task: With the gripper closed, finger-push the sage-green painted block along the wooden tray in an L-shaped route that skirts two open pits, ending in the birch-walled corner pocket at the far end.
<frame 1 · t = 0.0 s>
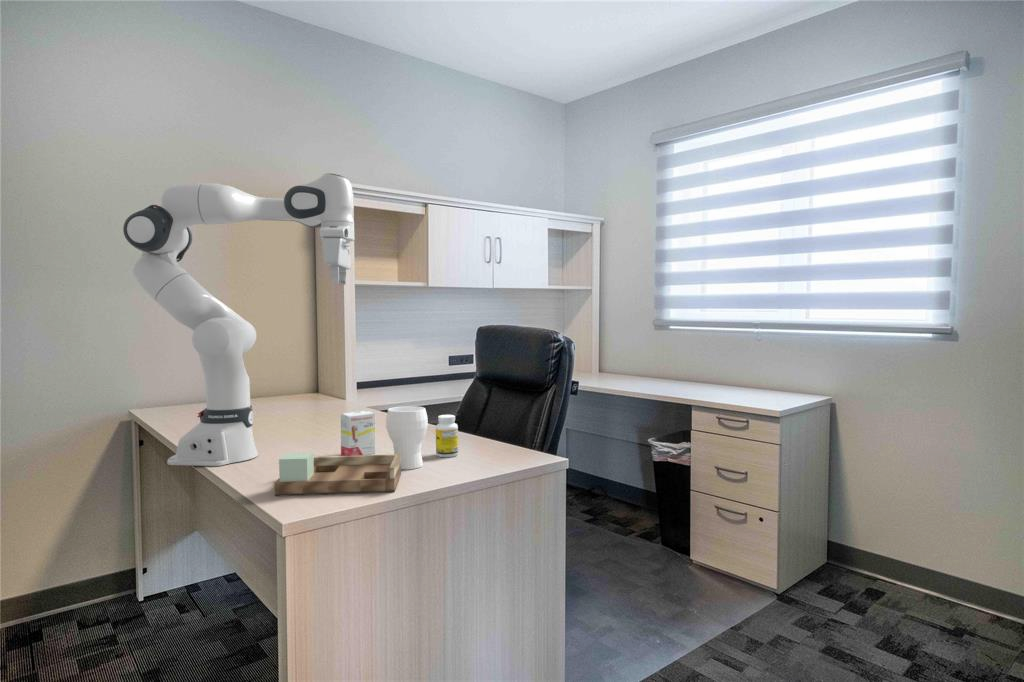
hand: (339, 284, 171), 48 cm above the table, fingers open, 8 cm apart
pill bottle: (447, 455, 172), on the table
cup: (407, 466, 160), on the table
block: (297, 477, 139), point 3 cm above the table, touching wooden tray
ink box: (358, 455, 174), on the table
wooden tray: (341, 484, 144), on the table
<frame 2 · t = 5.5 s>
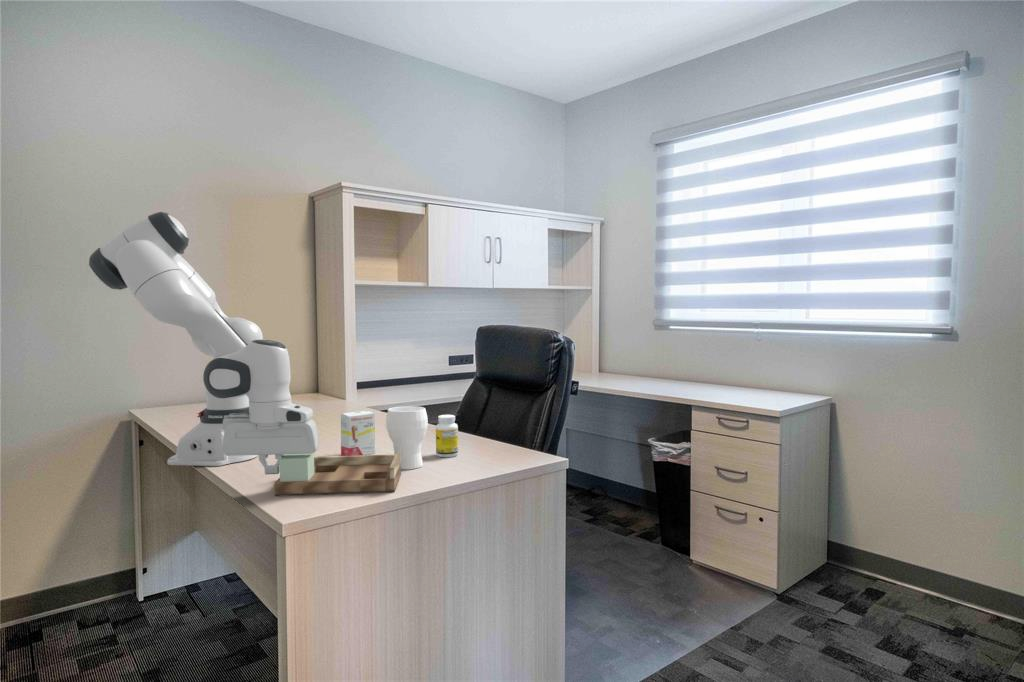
hand: (272, 473, 138), 4 cm above the table, fingers closed
block: (297, 477, 139), point 3 cm above the table, touching gripper
everything else where it was.
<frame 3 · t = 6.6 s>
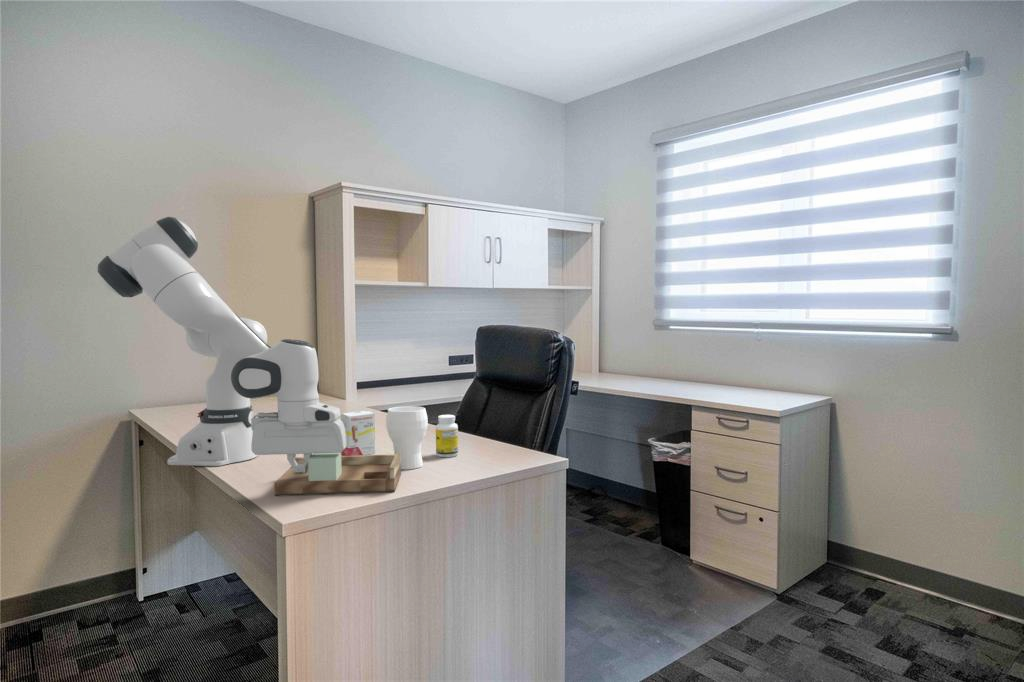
hand: (300, 473, 138), 4 cm above the table, fingers closed
block: (325, 477, 139), point 3 cm above the table, touching gripper
everything else where it was.
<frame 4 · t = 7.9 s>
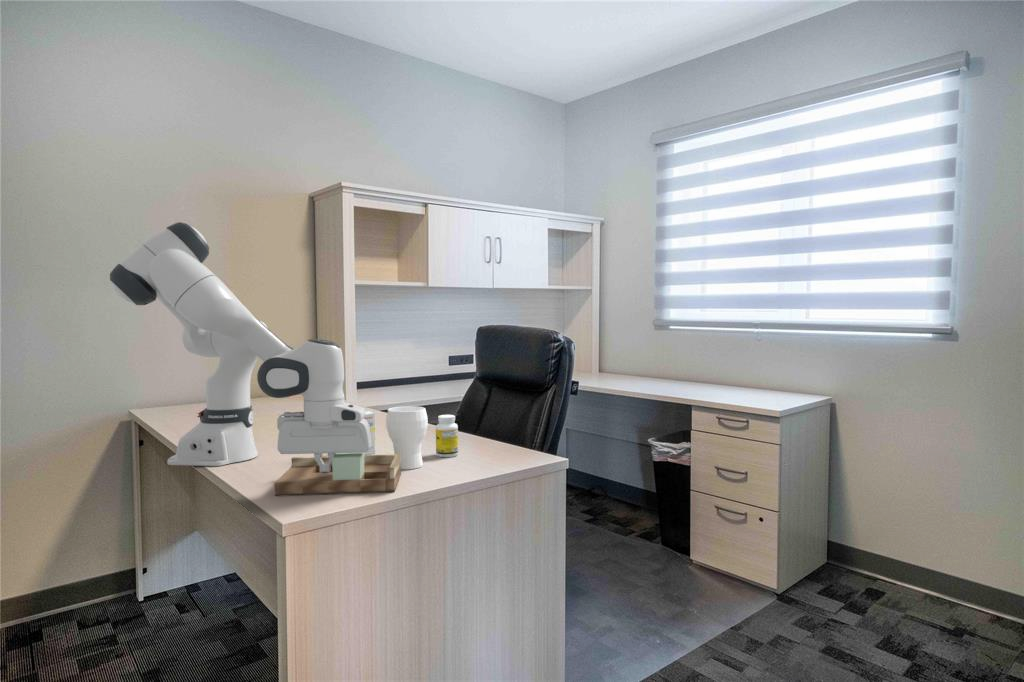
hand: (325, 472, 139), 4 cm above the table, fingers closed
block: (349, 476, 139), point 3 cm above the table, touching wooden tray, gripper
everything else where it was.
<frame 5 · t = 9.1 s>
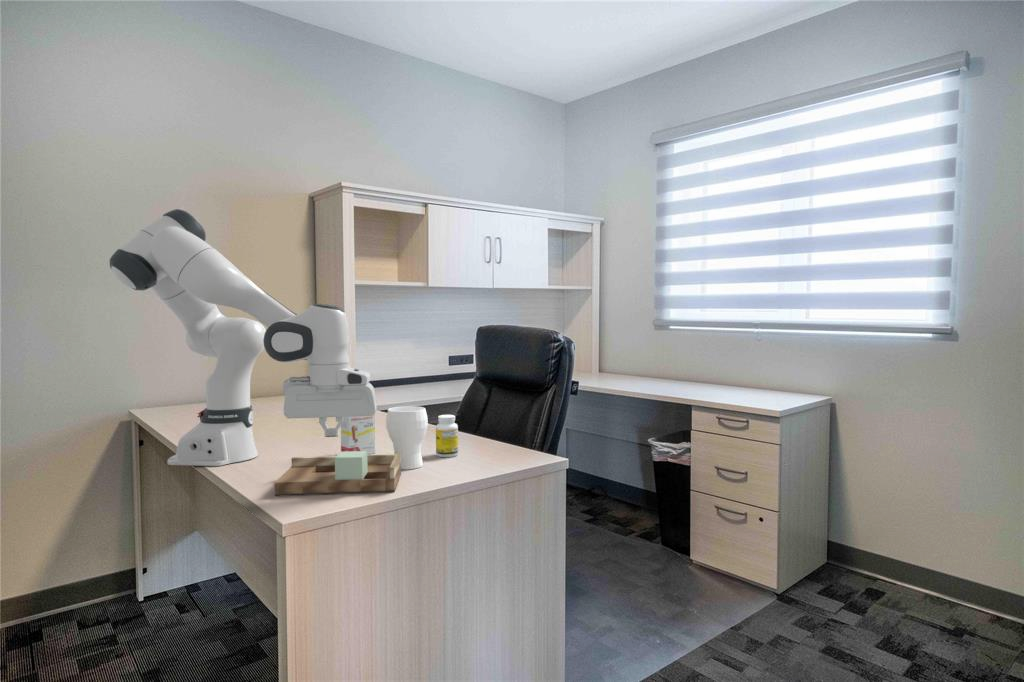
hand: (331, 436, 140), 12 cm above the table, fingers closed
block: (351, 476, 140), point 3 cm above the table, touching wooden tray
everything else where it was.
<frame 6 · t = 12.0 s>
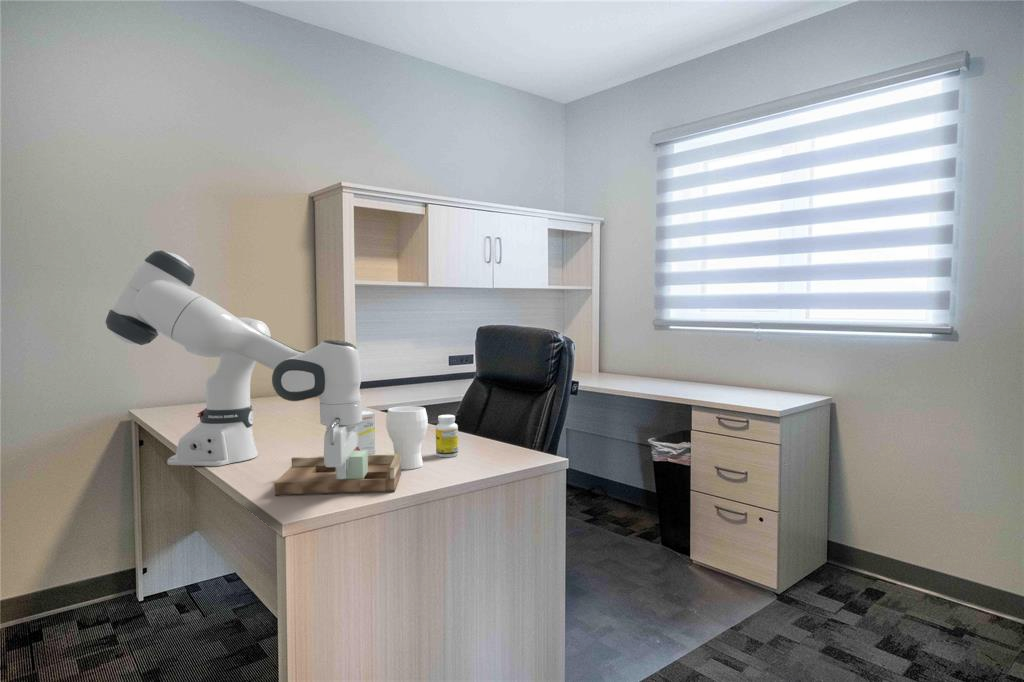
hand: (342, 477, 134), 4 cm above the table, fingers closed
block: (352, 475, 140), point 3 cm above the table, touching gripper
everything else where it was.
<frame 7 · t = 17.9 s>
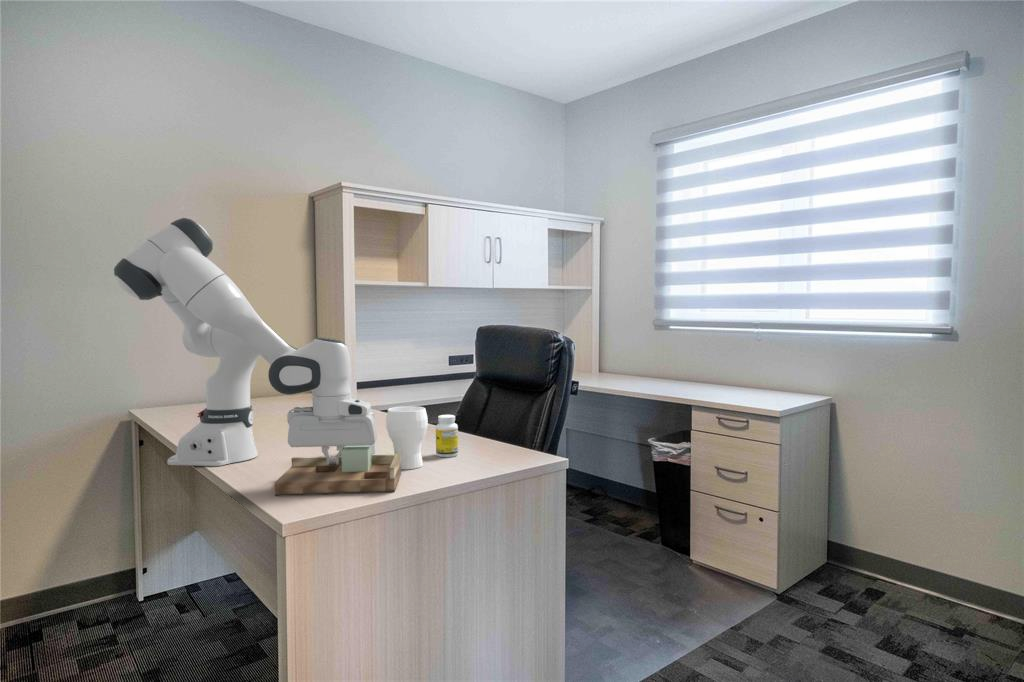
hand: (333, 464, 146), 4 cm above the table, fingers closed
block: (357, 468, 147), point 3 cm above the table, touching wooden tray, gripper
everything else where it was.
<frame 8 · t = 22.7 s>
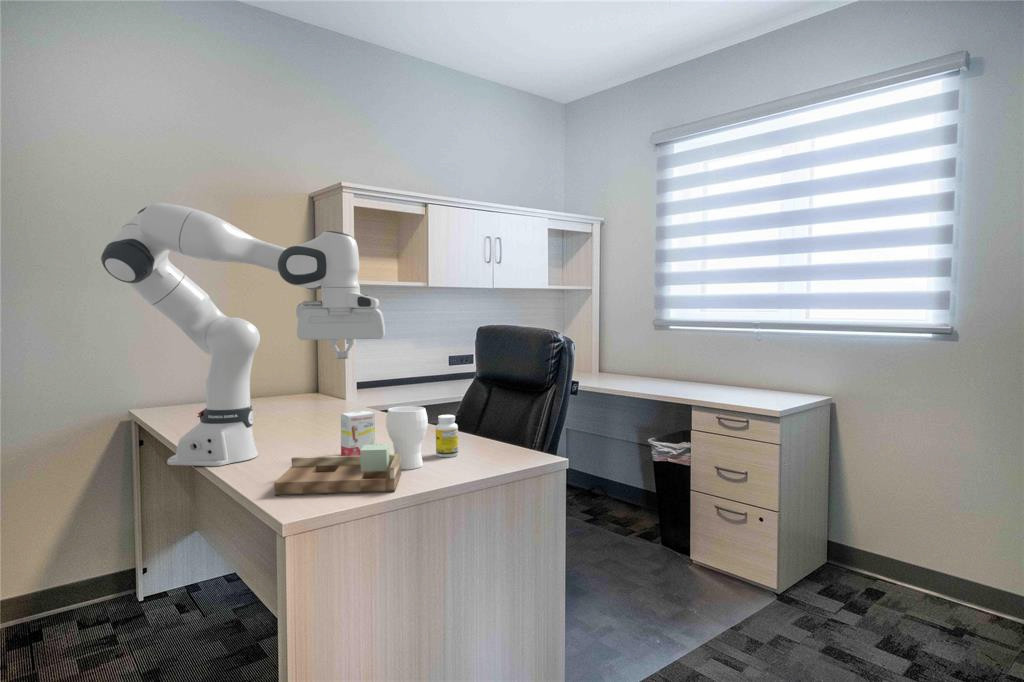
hand: (342, 358, 147), 29 cm above the table, fingers closed
block: (375, 467, 147), point 3 cm above the table, touching wooden tray
everything else where it was.
at the end: block inside the target area (1.9 cm from its centre), point 3.0 cm above the table; block tilted 0°; block touching wooden tray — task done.
